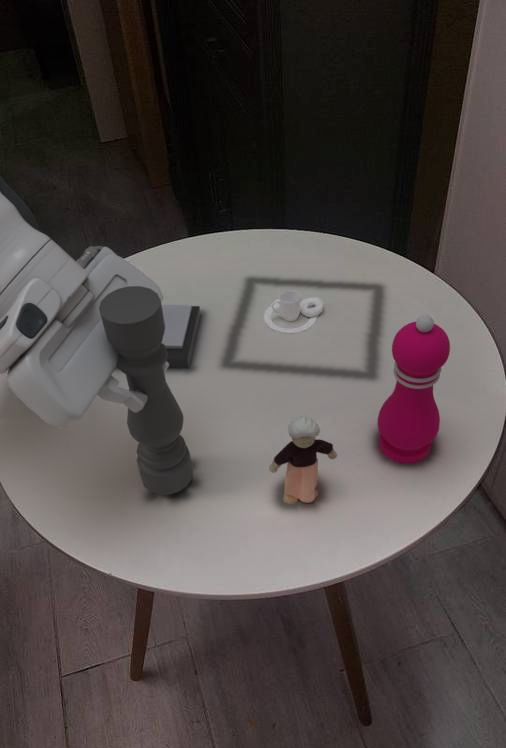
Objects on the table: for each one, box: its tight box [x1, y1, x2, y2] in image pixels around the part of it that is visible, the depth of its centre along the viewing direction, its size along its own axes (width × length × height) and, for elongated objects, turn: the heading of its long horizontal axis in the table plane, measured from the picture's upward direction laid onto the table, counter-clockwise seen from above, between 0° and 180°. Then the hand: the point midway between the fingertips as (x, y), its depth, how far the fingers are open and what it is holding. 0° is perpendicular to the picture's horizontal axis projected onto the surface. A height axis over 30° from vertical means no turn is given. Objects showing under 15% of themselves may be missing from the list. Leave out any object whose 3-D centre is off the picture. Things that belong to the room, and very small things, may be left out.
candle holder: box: [99, 286, 194, 496], centre depth 72 cm, size 6×6×25 cm
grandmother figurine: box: [268, 415, 338, 505], centre depth 76 cm, size 8×4×13 cm, turn 114°
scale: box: [161, 304, 202, 370], centre depth 99 cm, size 14×12×3 cm
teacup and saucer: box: [263, 289, 325, 334], centre depth 101 cm, size 9×8×4 cm
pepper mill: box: [376, 314, 451, 464], centre depth 77 cm, size 7×7×20 cm
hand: (153, 389), depth 71 cm, fingers closed on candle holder, 4 cm apart
